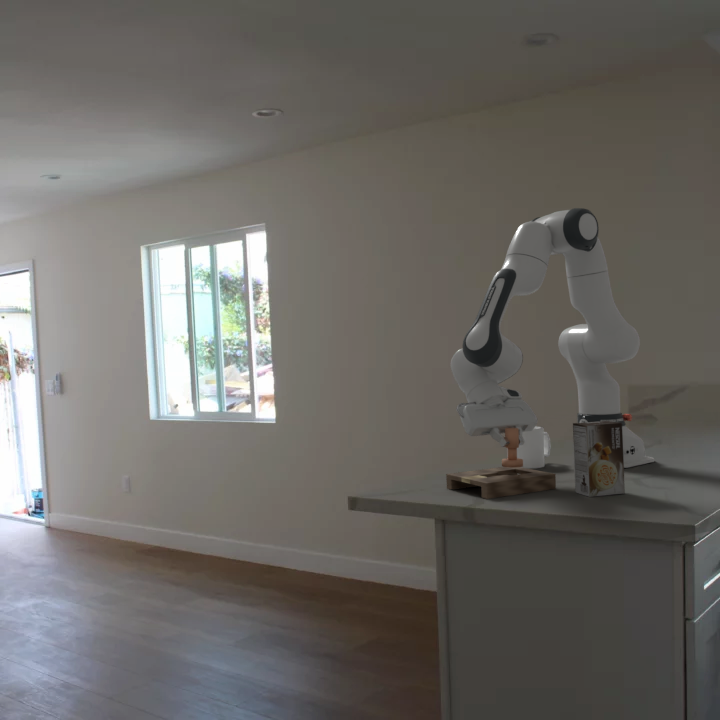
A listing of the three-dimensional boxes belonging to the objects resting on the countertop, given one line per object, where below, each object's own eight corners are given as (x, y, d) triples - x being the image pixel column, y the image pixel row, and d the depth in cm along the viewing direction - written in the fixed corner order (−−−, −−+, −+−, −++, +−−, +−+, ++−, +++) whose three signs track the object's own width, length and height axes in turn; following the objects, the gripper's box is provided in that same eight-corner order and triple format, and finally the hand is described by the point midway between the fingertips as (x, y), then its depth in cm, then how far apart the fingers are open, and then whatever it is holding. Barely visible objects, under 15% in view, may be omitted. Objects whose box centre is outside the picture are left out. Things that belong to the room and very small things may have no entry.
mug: (534, 460, 233) (533, 423, 232) (561, 464, 224) (559, 426, 224) (499, 465, 225) (498, 427, 225) (526, 469, 217) (525, 430, 216)
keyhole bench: (512, 479, 202) (512, 465, 202) (555, 488, 188) (555, 473, 188) (446, 488, 193) (446, 473, 193) (487, 498, 179) (486, 483, 179)
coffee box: (609, 489, 186) (607, 420, 185) (625, 494, 179) (623, 422, 179) (574, 492, 183) (572, 422, 183) (589, 497, 177) (587, 425, 177)
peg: (514, 463, 196) (513, 426, 196) (527, 466, 191) (526, 428, 191) (497, 465, 193) (496, 428, 193) (510, 468, 189) (510, 430, 189)
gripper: (458, 395, 193) (484, 439, 185) (525, 391, 203) (552, 433, 194) (448, 412, 197) (473, 456, 189) (514, 407, 207) (540, 449, 198)
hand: (513, 444), depth 192 cm, fingers closed on peg, 3 cm apart
